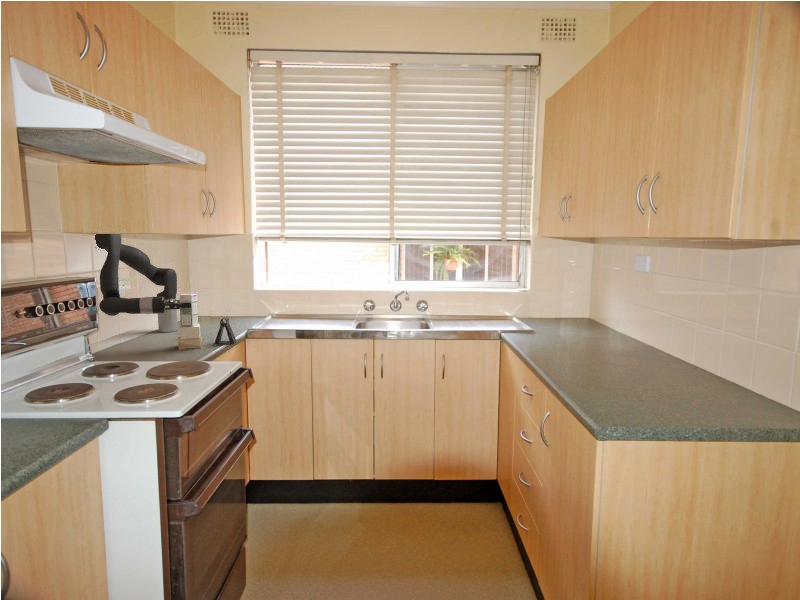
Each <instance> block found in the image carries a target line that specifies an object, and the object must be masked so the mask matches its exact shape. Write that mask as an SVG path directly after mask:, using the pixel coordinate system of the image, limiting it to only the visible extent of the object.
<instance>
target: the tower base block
mask: <svg viewBox="0 0 800 600" xmlns="http://www.w3.org/2000/svg"><path fill="white" fill-rule="evenodd" d="M202 337H203V335H202V333H200V338H186V339H180V336H178V339H177V340H178V341H177V343H178V350H186V349H185V348H195V349H201V348H200V347H202V346H203V340H202V339H203V338H202Z"/></svg>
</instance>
